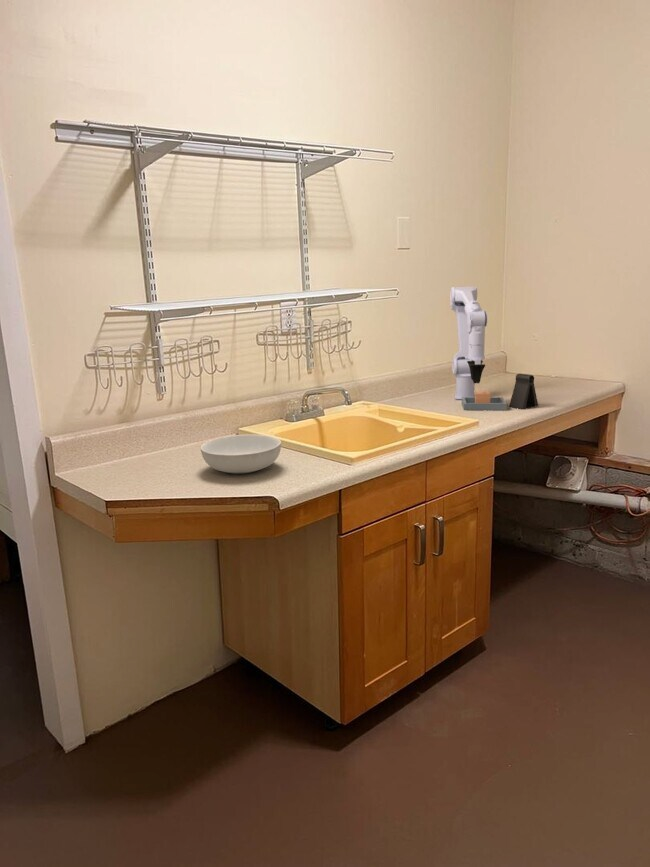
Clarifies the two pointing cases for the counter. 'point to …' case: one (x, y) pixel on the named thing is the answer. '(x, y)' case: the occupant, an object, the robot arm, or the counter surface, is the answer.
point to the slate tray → (484, 404)
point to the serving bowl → (241, 453)
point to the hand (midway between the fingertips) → (475, 381)
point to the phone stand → (524, 392)
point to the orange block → (482, 397)
